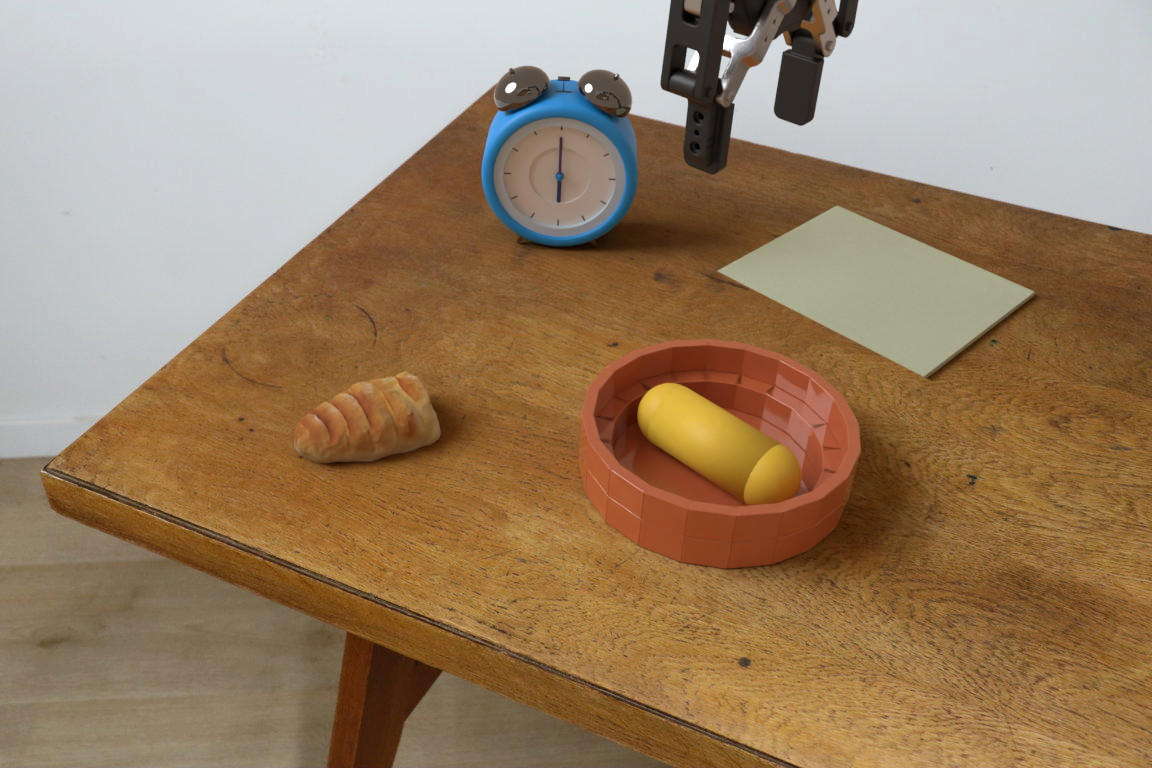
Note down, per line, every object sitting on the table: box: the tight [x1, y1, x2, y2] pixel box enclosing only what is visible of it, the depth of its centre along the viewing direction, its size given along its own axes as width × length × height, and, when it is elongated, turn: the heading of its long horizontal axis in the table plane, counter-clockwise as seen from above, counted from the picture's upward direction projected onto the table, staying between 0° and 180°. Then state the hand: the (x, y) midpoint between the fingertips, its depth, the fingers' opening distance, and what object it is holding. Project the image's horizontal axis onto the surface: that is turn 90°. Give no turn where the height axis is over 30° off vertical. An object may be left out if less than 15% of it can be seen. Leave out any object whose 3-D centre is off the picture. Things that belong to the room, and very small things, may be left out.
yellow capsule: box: [637, 383, 801, 506], centre depth 72 cm, size 12×4×4 cm, turn 45°
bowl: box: [577, 338, 862, 570], centre depth 72 cm, size 18×18×5 cm
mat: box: [717, 205, 1036, 379], centre depth 93 cm, size 20×20×1 cm
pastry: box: [293, 370, 442, 464], centre depth 74 cm, size 9×7×4 cm
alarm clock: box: [480, 65, 639, 248], centre depth 94 cm, size 13×6×15 cm, turn 88°
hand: (750, 142), depth 59 cm, fingers open, 8 cm apart
